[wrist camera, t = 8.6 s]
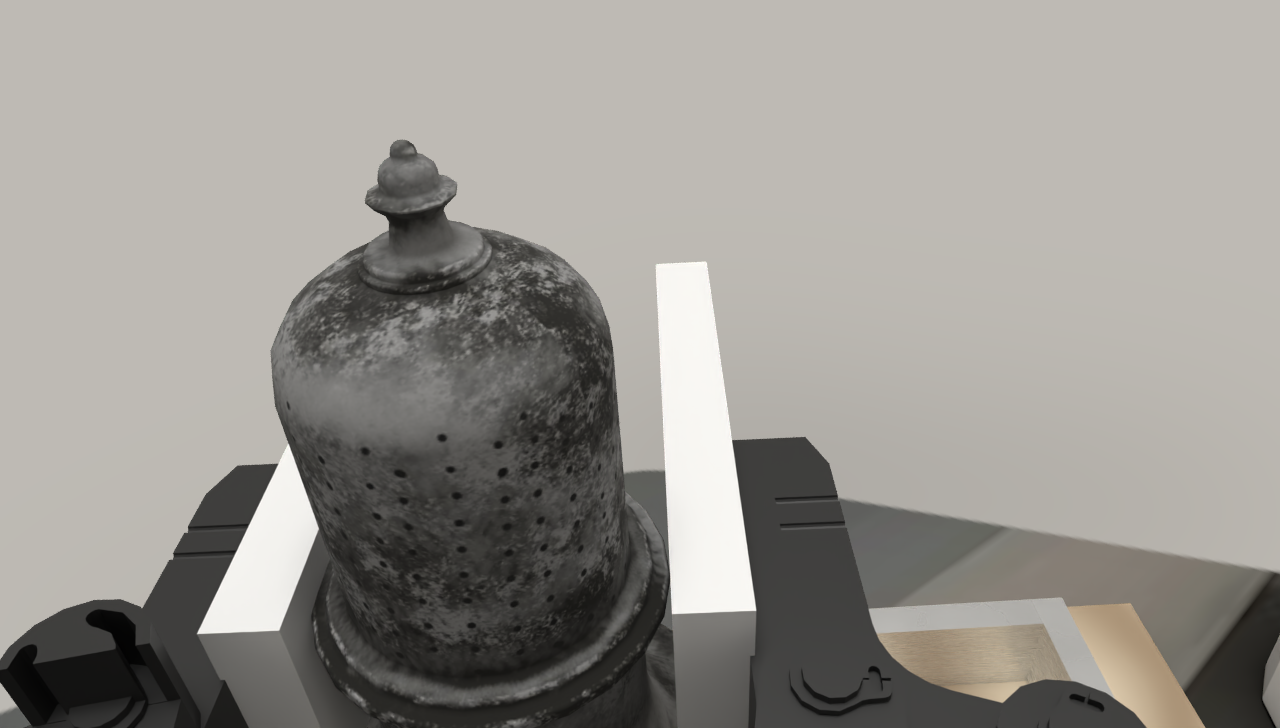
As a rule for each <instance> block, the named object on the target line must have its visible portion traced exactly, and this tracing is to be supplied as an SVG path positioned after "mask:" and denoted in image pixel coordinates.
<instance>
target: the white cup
mask: <svg viewBox="0 0 1280 728" xmlns="http://www.w3.org/2000/svg"><path fill="white" fill-rule="evenodd" d="M1262 700H1263V702H1264V704H1265V706H1266V708H1267V710H1268V712H1269V714H1270V716H1271V718H1272V720H1273V722H1274V724H1275V726H1276V728H1280V635H1279V638H1278V640H1277V642H1276V644H1275V646H1274V648H1273V650H1272V652H1271V655H1270V657H1269V659H1268V661H1267V663H1266V666H1265V675H1264V686H1263V696H1262Z"/></svg>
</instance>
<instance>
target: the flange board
mask: <svg viewBox="0 0 1280 728" xmlns="http://www.w3.org/2000/svg"><path fill="white" fill-rule="evenodd" d="M1067 608H1068V610H1069V612H1070V614H1071V616H1072V618H1073V620H1074V622H1075V624H1076V626H1077V627H1078V629H1079V631H1080V633H1081V635H1082V637H1083V639H1084V641H1085V643H1086V644H1087V646H1088V648H1089V650H1090V652H1091V654H1092V656H1093V658H1094V660H1095V662H1096V663H1097V665H1098V667H1099V669H1100V671H1101V673H1102V675H1103V677H1104V679H1105V681H1106V682H1107V684H1108V686H1109V688H1110V690H1111V692H1112V694H1113V696H1114V698H1115V699H1116V700H1117V701H1119V702H1120V703H1121V704H1123V705H1124V706H1126V707H1127V708H1129V709H1130V710H1131V711H1133V712H1134V713H1135V714H1136V715H1137V716H1138V718H1139V719H1140V720H1141V721H1142V723H1143V724H1144V725H1145V726H1146V727H1147V728H1205V727H1204V725H1203V723H1202V722H1201V720H1200V718H1199V717H1198V715H1197V713H1196V712H1195V710H1194V708H1193V707H1192V705H1191V703H1190V702H1189V700H1188V698H1187V697H1186V695H1185V693H1184V692H1183V690H1182V688H1181V687H1180V685H1179V683H1178V682H1177V680H1176V678H1175V677H1174V675H1173V673H1172V672H1171V670H1170V669H1169V667H1168V665H1167V664H1166V662H1165V660H1164V659H1163V657H1162V655H1161V654H1160V652H1159V650H1158V649H1157V647H1156V645H1155V644H1154V642H1153V640H1152V639H1151V637H1150V635H1149V634H1148V632H1147V630H1146V629H1145V627H1144V625H1143V624H1142V622H1141V620H1140V619H1139V617H1138V615H1137V614H1136V612H1135V610H1134V609H1133V607H1132V605H1131V604H1130V603H1127V604H1110V605H1093V606H1076V607H1067ZM672 631H673V630H672ZM1024 685H1027V683H1026V681H1019V682H1002V683H985V684H968V685H951V686H941V687H944V688H947V689H949V690H953V691H957V692H961V693H965V694H969V695H973V696H977V697H981V698H985V699H989V700H993V701H997V702H1001V703H1003V702H1004V701H1005V700H1006V699H1007V698H1009V697H1010V696H1011V695H1012V694H1013V693H1014V692H1015V691H1016V690H1017V689H1018V688H1019V687H1020V686H1024Z"/></svg>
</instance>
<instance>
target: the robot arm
mask: <svg viewBox="0 0 1280 728" xmlns="http://www.w3.org/2000/svg"><path fill="white" fill-rule="evenodd" d="M656 279H657V301H658V322H659V343H660V365H661V386H662V408H663V429H664V450H665V472H666V493H667V515H668V536H669V557H670V579H671V600H672V621H673V642H674V662H675V683H676V704H677V724H678V728H1147V727H1146V726H1145V725H1144V724H1143V723H1142V721H1141V720H1140V719H1139V718H1138V716H1137V715H1136V714H1135V713H1134V712H1133V711H1131V710H1130V709H1129V708H1127V707H1126V706H1124V705H1123V704H1121V703H1120V702H1119V701H1117V700H1116V699H1114V698H1113V697H1111V696H1110V695H1109V694H1107V693H1105V692H1103V691H1100V690H1097V689H1095V688H1092V687H1089V686H1086V685H1084V684H1081V683H1078V682H1076V681H1064V680H1050V679H1044V680H1041V681H1037V682H1034V683H1030V684H1027V685H1024V686H1020V687H1019V688H1018V689H1017V690H1016V691H1015V692H1014V693H1013V694H1012V695H1011V696H1010V697H1009V698H1007V699H1006V700H1005V701H1004V702H1003V703H1001V702H997V701H993V700H989V699H985V698H981V697H977V696H973V695H969V694H965V693H961V692H957V691H953V690H949V689H947V688H944V687H941V686H938V685H935V684H932V683H929V682H927V681H925V680H924V679H922V678H920V677H918V676H917V675H915V674H913V673H911V672H910V671H908V670H907V669H906V668H905V667H903V666H902V665H901V664H900V663H899V662H898V661H896V660H895V659H894V658H893V657H892V656H891V655H890V654H889V652H888V651H887V650H886V648H885V647H884V646H883V644H882V643H881V642H880V640H879V638H878V636H877V633H876V631H875V629H874V626H873V624H872V620H871V616H870V613H869V609H868V605H867V602H866V598H865V594H864V591H863V587H862V583H861V580H860V576H859V572H858V568H857V565H856V561H855V557H854V554H853V550H852V546H851V543H850V539H849V535H848V532H847V528H845V520H844V517H843V513H842V509H841V506H840V502H839V501H838V495H837V491H836V488H835V484H834V480H833V476H832V472H831V469H830V465H829V463H828V462H827V461H826V460H825V459H824V457H823V456H822V455H821V454H820V453H819V452H818V451H817V450H816V449H815V447H814V446H813V445H812V444H811V443H810V442H809V441H808V440H807V439H806V437H796V438H774V439H752V440H732V437H731V430H730V423H729V416H728V409H727V402H726V395H725V388H724V381H723V374H722V368H721V360H720V353H719V346H718V339H717V332H716V325H715V318H714V311H713V304H712V297H711V290H710V283H709V276H708V269H707V262H690V263H672V264H671V263H670V264H656ZM173 554H174V558H173V560H169V562H168V564H167V565H166V567H165V569H164V571H163V572H162V574H161V576H160V578H159V580H158V582H157V583H156V585H155V587H154V589H153V590H152V593H151V594H150V596H149V598H148V599H147V601H146V603H145V605H144V607H143V608H141V607H139V606H137V605H134V604H131V603H129V602H126V601H124V600H121V599H117V600H93V601H90V602H86V603H83V604H80V605H76V606H73V607H70V608H66V609H64V610H62V611H60V612H58V613H56V614H54V615H53V616H51V617H49V618H47V619H45V620H44V621H42V622H40V623H38V624H36V625H34V626H33V627H32V628H31V629H30V630H28V631H27V632H26V633H25V634H24V635H23V636H22V637H20V638H19V639H18V640H17V641H16V642H15V643H14V644H12V645H11V646H10V647H9V648H8V649H7V651H6V652H5V654H4V655H3V657H2V658H1V660H0V683H1V684H2V685H3V687H4V688H5V690H6V691H7V692H8V694H9V695H10V696H11V698H12V699H13V700H14V702H15V703H16V705H17V706H18V707H19V709H20V710H21V711H22V713H23V714H24V715H25V717H26V718H27V720H28V721H29V722H30V724H31V725H29V726H27V727H24V728H367V726H368V722H369V719H370V716H369V715H367V714H366V713H364V712H363V711H362V710H361V709H360V708H359V707H358V706H356V705H355V704H354V703H353V702H352V701H351V700H350V699H348V698H347V697H346V696H345V695H344V694H343V693H341V692H340V691H339V690H338V689H337V688H336V687H335V685H334V683H333V682H332V680H331V678H330V676H329V674H328V672H327V670H326V669H325V667H324V665H323V663H322V661H321V659H320V658H319V656H318V654H317V651H316V649H315V642H314V633H313V625H312V617H311V615H312V610H313V607H314V603H315V600H316V596H317V593H318V590H319V588H320V585H321V582H322V579H323V576H324V574H325V571H326V568H327V565H328V563H329V560H330V559H329V556H328V553H327V550H326V547H325V545H324V542H323V539H322V536H321V533H320V531H319V528H318V525H317V522H316V519H315V516H314V514H313V511H312V508H311V505H310V502H309V500H308V497H307V494H306V491H305V488H304V485H303V483H302V480H301V477H300V474H299V471H298V469H297V466H296V463H295V460H294V457H293V455H292V452H291V449H290V446H289V443H288V445H287V447H286V450H285V452H284V454H283V456H282V458H281V460H280V462H279V464H264V465H242V466H237V467H235V468H234V469H233V470H232V471H231V472H230V473H229V474H228V475H227V476H226V477H224V479H222V480H221V481H220V482H219V483H218V484H217V485H216V486H215V487H213V488H212V489H211V490H210V491H209V492H208V493H207V494H206V495H205V497H204V499H203V501H202V502H201V504H200V506H199V508H198V509H197V511H196V513H195V515H194V517H193V519H192V520H191V522H190V524H189V526H188V533H184V535H183V536H182V538H181V540H180V542H179V544H178V545H177V547H176V549H175V551H174V553H173Z"/></svg>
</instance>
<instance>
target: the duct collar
mask: <svg viewBox="0 0 1280 728" xmlns="http://www.w3.org/2000/svg"><path fill="white" fill-rule="evenodd" d="M869 613H870V616H871V620H872V624H873V626H874V629H875V631H876V633H877V636H878V638H879V640H880V642H881V643H882V644H883V646H884V647H885V648H886V650H887V651H888V652H889V654H890V655H891V656H892V657H893V658H894V659H895V660H896V661H898V662H899V663H900V664H901V665H902V666H903V667H905V668H906V669H907V670H908V671H910V672H911V673H913V674H915V675H917V676H918V677H920V678H922V679H924V680H925V681H927V682H929V683H932V684H935V685H938V686H951V685H968V684H985V683H1002V682H1019V681H1026V683H1027V684H1030V683H1034V682H1037V681H1041V680H1044V679H1050V680H1064V681H1076V682H1078V683H1081V684H1084V685H1086V686H1089V687H1092V688H1095V689H1097V690H1100V691H1103V692H1105V693H1107V694H1109V695H1110V696H1111V697H1113V698H1114V696H1113V694H1112V692H1111V690H1110V688H1109V686H1108V684H1107V682H1106V681H1105V679H1104V677H1103V675H1102V673H1101V671H1100V669H1099V667H1098V665H1097V663H1096V662H1095V660H1094V658H1093V656H1092V654H1091V652H1090V650H1089V648H1088V646H1087V644H1086V643H1085V641H1084V639H1083V637H1082V635H1081V633H1080V631H1079V629H1078V627H1077V626H1076V624H1075V622H1074V620H1073V618H1072V616H1071V614H1070V612H1069V610H1068V608H1067V607H1066V605H1065V603H1064V601H1063V599H1062V598H1045V599H1028V600H1011V601H994V602H977V603H960V604H943V605H926V606H909V607H892V608H875V609H869ZM1114 699H1115V698H1114Z"/></svg>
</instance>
